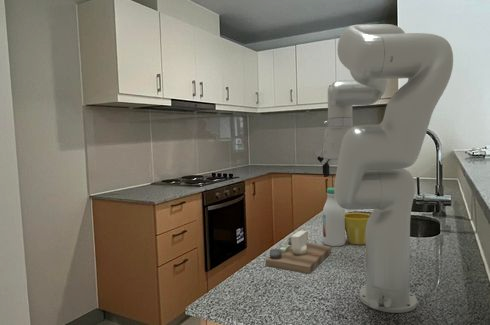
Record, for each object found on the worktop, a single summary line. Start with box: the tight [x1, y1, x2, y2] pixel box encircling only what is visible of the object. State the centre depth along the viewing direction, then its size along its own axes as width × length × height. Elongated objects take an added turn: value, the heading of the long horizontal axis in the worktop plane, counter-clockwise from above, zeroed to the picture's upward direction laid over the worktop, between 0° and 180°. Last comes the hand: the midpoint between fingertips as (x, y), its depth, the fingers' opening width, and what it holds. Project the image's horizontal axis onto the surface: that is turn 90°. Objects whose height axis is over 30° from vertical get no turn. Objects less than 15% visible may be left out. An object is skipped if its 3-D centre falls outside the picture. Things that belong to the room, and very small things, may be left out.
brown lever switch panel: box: [265, 237, 332, 274], centre depth 112 cm, size 20×14×4 cm
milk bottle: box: [322, 187, 346, 247], centre depth 126 cm, size 8×8×20 cm
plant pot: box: [345, 212, 371, 246], centre depth 127 cm, size 10×10×10 cm
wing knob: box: [290, 230, 309, 255], centre depth 113 cm, size 9×4×6 cm, turn 149°
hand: (341, 177), depth 114 cm, fingers open, 9 cm apart
